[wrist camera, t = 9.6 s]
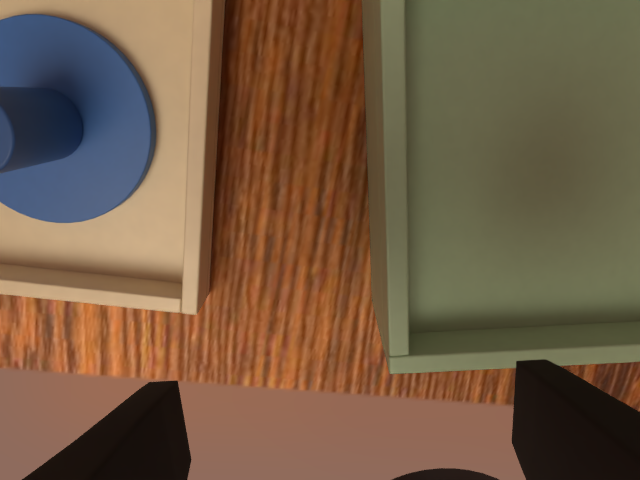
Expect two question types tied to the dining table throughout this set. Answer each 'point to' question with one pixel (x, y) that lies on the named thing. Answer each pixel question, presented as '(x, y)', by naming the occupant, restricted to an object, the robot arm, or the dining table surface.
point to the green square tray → (503, 181)
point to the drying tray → (160, 182)
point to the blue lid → (69, 121)
